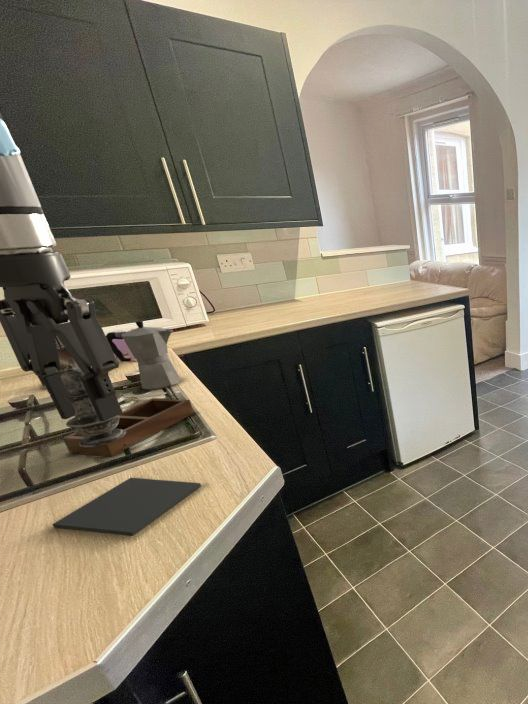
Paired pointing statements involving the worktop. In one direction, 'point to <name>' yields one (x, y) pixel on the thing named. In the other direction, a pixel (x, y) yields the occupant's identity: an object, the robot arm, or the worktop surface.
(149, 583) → the worktop surface
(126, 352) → the clip
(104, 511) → the mat
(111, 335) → the coffeepot
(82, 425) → the grey chess piece
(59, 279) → the robot arm
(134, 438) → the brown shallow rectangular box
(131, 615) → the worktop surface
